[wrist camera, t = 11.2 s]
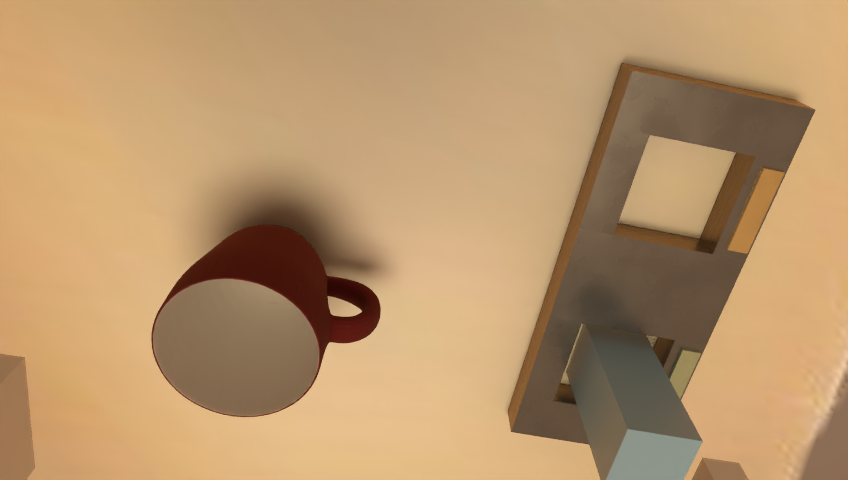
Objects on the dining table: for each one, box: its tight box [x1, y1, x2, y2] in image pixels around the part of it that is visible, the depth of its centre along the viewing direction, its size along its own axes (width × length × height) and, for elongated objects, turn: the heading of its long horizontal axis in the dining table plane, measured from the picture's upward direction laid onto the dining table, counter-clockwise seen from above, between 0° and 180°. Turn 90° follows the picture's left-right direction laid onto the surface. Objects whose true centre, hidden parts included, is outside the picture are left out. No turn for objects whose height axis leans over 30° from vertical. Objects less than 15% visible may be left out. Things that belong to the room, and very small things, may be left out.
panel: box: [508, 63, 815, 444], centre depth 40 cm, size 24×10×2 cm, turn 168°
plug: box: [567, 324, 703, 480], centre depth 39 cm, size 5×4×10 cm
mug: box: [152, 225, 381, 417], centre depth 36 cm, size 10×8×10 cm
